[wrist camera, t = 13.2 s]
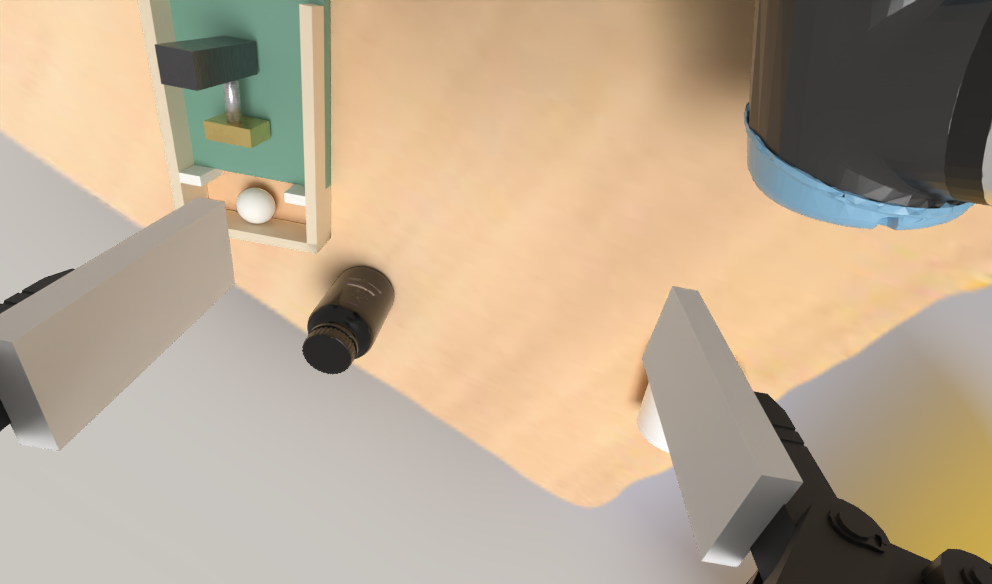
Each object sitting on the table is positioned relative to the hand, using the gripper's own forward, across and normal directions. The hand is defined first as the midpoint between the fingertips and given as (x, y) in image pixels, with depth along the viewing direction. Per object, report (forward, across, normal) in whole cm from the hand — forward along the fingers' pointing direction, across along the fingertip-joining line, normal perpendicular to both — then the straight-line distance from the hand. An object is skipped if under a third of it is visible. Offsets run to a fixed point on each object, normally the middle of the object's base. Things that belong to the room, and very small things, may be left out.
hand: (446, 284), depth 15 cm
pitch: (+35, -23, -6) cm, 42 cm away
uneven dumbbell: (+33, -23, -4) cm, 40 cm away
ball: (+33, -23, -15) cm, 43 cm away
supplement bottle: (+35, -12, -24) cm, 44 cm away
